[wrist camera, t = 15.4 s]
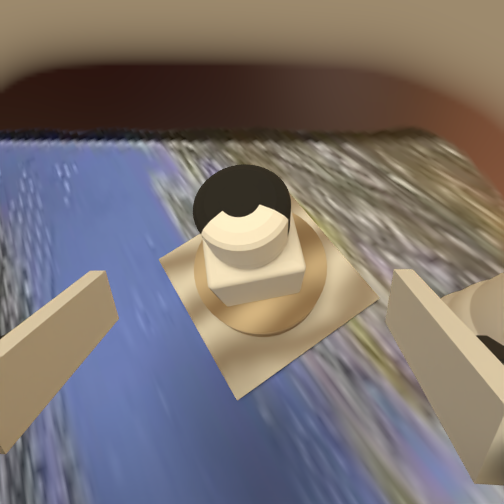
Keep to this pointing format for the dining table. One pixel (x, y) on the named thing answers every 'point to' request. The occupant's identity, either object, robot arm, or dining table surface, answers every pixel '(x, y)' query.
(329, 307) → the post stand
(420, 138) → the dining table surface
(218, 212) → the medicine bottle
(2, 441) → the robot arm
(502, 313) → the water bottle
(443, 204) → the dining table surface
